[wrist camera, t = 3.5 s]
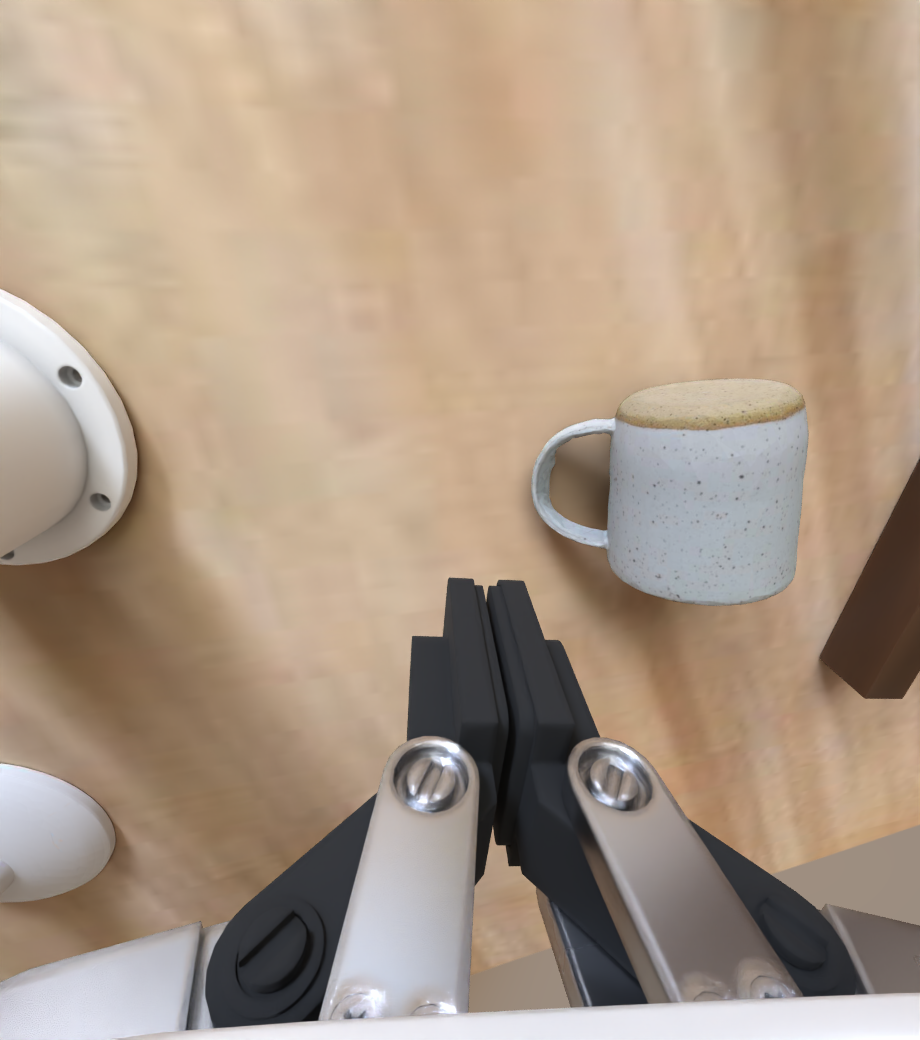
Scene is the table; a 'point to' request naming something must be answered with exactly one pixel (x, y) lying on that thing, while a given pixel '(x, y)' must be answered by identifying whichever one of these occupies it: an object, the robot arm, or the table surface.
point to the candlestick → (48, 835)
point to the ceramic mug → (697, 489)
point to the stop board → (884, 610)
